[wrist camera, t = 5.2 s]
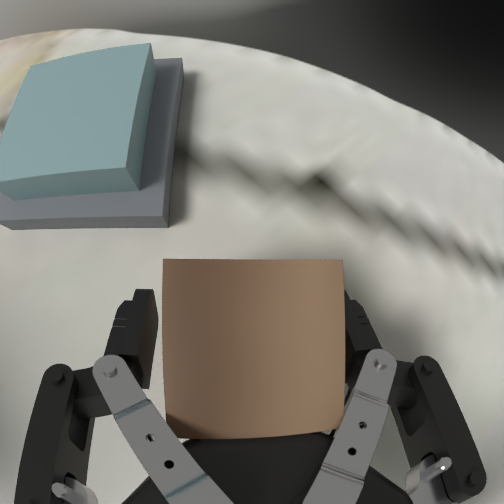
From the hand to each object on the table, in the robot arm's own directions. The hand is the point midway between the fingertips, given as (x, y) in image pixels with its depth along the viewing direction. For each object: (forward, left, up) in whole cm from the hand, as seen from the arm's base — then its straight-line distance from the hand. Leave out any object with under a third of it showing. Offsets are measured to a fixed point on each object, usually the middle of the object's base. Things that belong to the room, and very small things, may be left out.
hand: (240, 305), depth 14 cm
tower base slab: (+10, -11, -5) cm, 16 cm away
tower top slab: (+10, -11, -2) cm, 15 cm away
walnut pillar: (0, +1, -5) cm, 5 cm away
